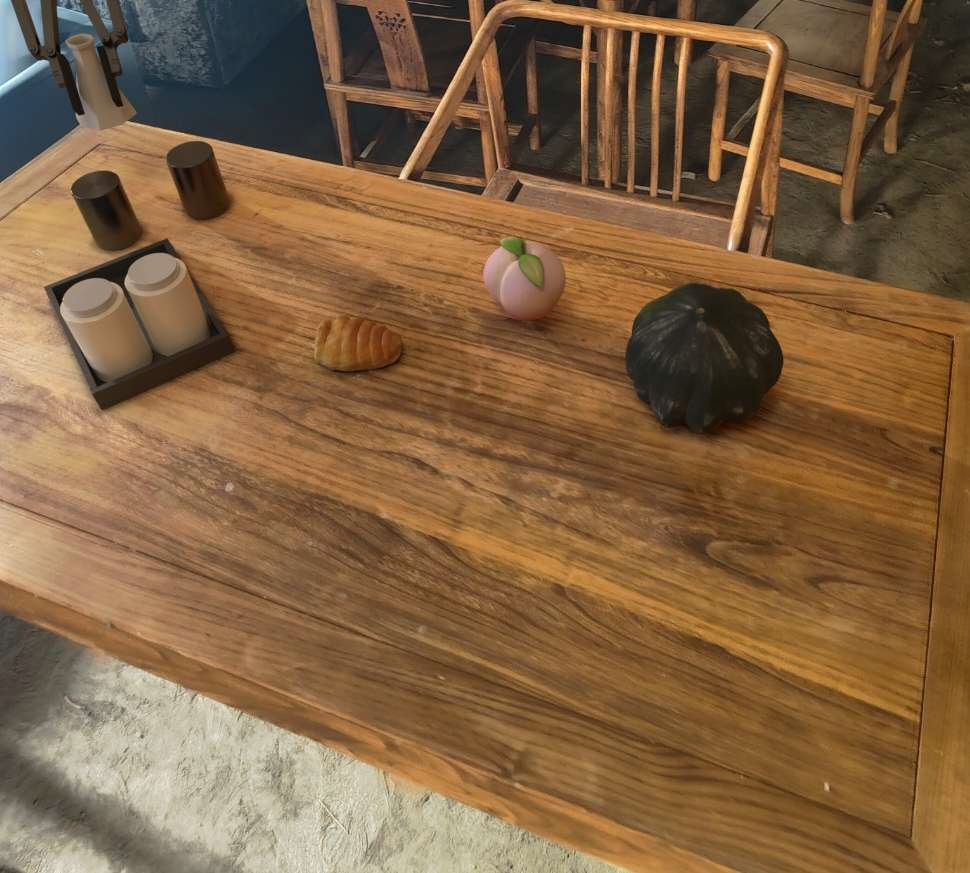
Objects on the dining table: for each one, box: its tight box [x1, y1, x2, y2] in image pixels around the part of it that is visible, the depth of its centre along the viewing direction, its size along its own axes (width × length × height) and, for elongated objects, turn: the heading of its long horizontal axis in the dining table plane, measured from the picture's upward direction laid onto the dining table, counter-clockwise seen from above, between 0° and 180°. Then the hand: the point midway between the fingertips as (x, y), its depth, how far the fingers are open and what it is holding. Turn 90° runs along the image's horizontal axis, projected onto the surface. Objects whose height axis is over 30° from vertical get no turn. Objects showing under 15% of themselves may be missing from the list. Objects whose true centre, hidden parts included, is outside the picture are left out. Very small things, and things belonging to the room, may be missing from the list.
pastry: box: [313, 314, 403, 372], centre depth 101 cm, size 9×7×4 cm
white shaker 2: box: [125, 253, 211, 356], centre depth 102 cm, size 7×7×10 cm
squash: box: [624, 282, 785, 435], centre depth 90 cm, size 14×15×15 cm
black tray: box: [43, 237, 236, 411], centre depth 108 cm, size 22×16×3 cm
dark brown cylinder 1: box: [70, 169, 143, 252], centre depth 118 cm, size 6×6×8 cm
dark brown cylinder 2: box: [165, 140, 231, 221], centre depth 121 cm, size 6×6×8 cm
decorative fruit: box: [482, 236, 567, 322], centre depth 101 cm, size 9×8×10 cm
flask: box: [65, 32, 137, 132], centre depth 114 cm, size 7×7×10 cm
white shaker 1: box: [60, 278, 153, 383], centre depth 100 cm, size 7×7×10 cm
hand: (98, 107), depth 113 cm, fingers closed on flask, 4 cm apart
